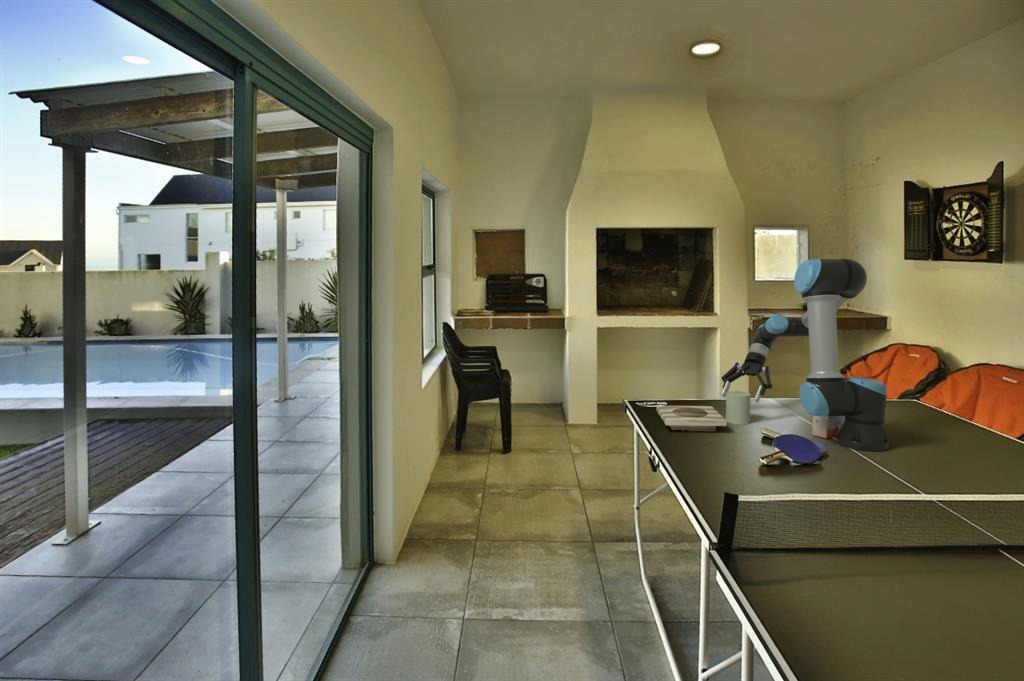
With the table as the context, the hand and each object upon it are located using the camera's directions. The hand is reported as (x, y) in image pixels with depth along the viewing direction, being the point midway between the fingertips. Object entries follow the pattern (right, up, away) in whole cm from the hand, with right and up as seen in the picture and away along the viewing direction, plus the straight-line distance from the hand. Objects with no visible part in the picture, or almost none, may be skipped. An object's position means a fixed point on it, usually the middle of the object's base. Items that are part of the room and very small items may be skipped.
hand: (739, 398), depth 231 cm
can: (-1, -9, -2) cm, 10 cm away
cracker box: (+25, -11, -20) cm, 34 cm away
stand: (-22, -10, -6) cm, 25 cm away
